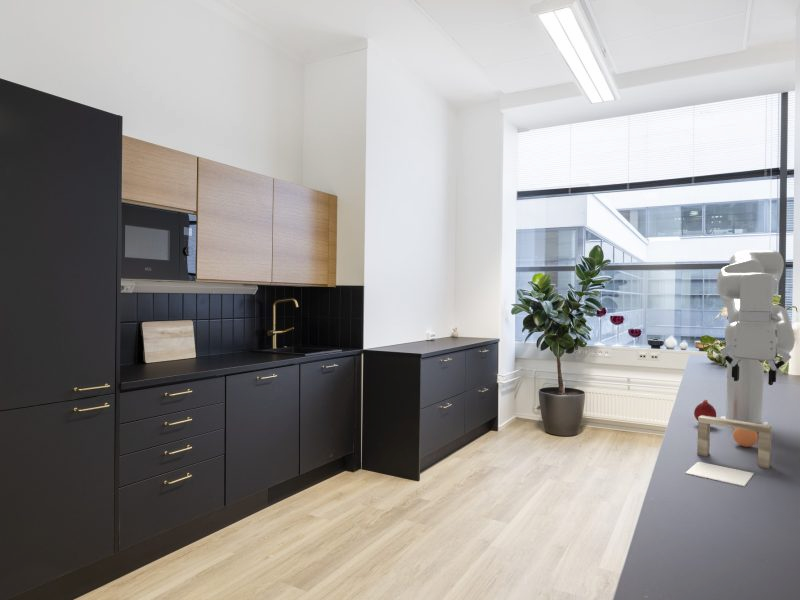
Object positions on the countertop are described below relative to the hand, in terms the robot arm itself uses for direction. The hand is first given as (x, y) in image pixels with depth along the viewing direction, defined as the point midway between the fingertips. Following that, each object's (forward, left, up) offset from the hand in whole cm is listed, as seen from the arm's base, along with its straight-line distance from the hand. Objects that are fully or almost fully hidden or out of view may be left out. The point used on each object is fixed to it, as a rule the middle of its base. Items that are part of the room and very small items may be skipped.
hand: (753, 382), depth 146 cm
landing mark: (+40, 0, -16) cm, 43 cm away
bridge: (+26, 0, -16) cm, 30 cm away
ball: (+10, 0, -13) cm, 16 cm away
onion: (-7, -13, -16) cm, 22 cm away
